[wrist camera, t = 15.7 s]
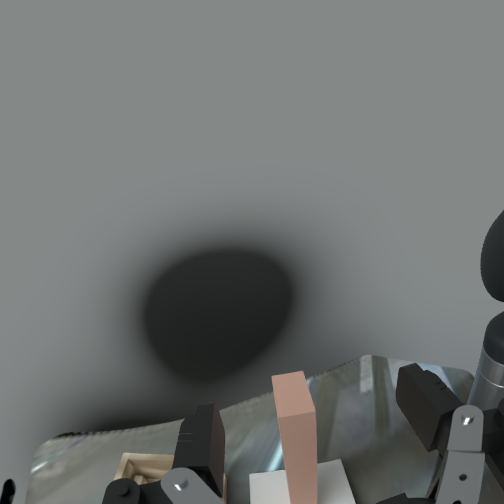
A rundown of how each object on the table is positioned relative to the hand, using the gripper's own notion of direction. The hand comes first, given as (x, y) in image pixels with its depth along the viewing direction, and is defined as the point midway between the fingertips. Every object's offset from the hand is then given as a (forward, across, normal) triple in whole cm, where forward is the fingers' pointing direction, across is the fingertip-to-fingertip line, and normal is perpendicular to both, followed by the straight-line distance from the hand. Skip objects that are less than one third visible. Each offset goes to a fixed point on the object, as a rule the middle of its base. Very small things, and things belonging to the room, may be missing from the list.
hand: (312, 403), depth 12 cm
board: (+11, 0, +28) cm, 31 cm away
